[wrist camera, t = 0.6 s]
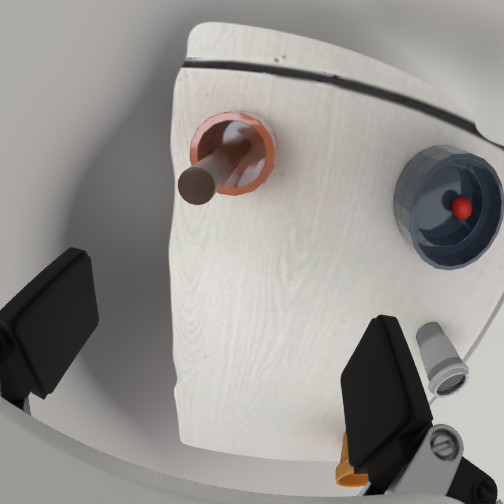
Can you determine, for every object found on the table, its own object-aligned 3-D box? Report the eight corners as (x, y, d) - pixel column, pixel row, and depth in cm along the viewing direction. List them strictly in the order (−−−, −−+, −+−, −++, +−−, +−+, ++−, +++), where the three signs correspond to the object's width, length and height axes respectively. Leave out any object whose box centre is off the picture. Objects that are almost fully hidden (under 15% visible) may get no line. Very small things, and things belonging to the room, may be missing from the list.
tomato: (450, 191, 31) (462, 198, 29) (467, 196, 31) (478, 203, 29) (444, 212, 33) (455, 221, 30) (461, 216, 33) (472, 225, 30)
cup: (452, 324, 41) (479, 374, 31) (428, 350, 44) (448, 402, 34) (427, 311, 41) (455, 366, 30) (402, 340, 44) (421, 396, 33)
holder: (210, 109, 31) (192, 110, 25) (280, 115, 31) (279, 117, 25) (205, 175, 35) (188, 190, 29) (272, 182, 35) (269, 200, 28)
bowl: (405, 132, 30) (427, 137, 24) (489, 162, 29) (515, 173, 24) (380, 239, 36) (394, 262, 31) (462, 254, 36) (481, 275, 30)
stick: (231, 136, 32) (177, 166, 16) (251, 137, 32) (216, 169, 16) (230, 154, 33) (177, 203, 17) (249, 156, 33) (214, 207, 17)
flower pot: (402, 420, 55) (412, 465, 44) (365, 446, 62) (369, 487, 50) (358, 412, 54) (365, 464, 42) (322, 439, 60) (323, 485, 49)
